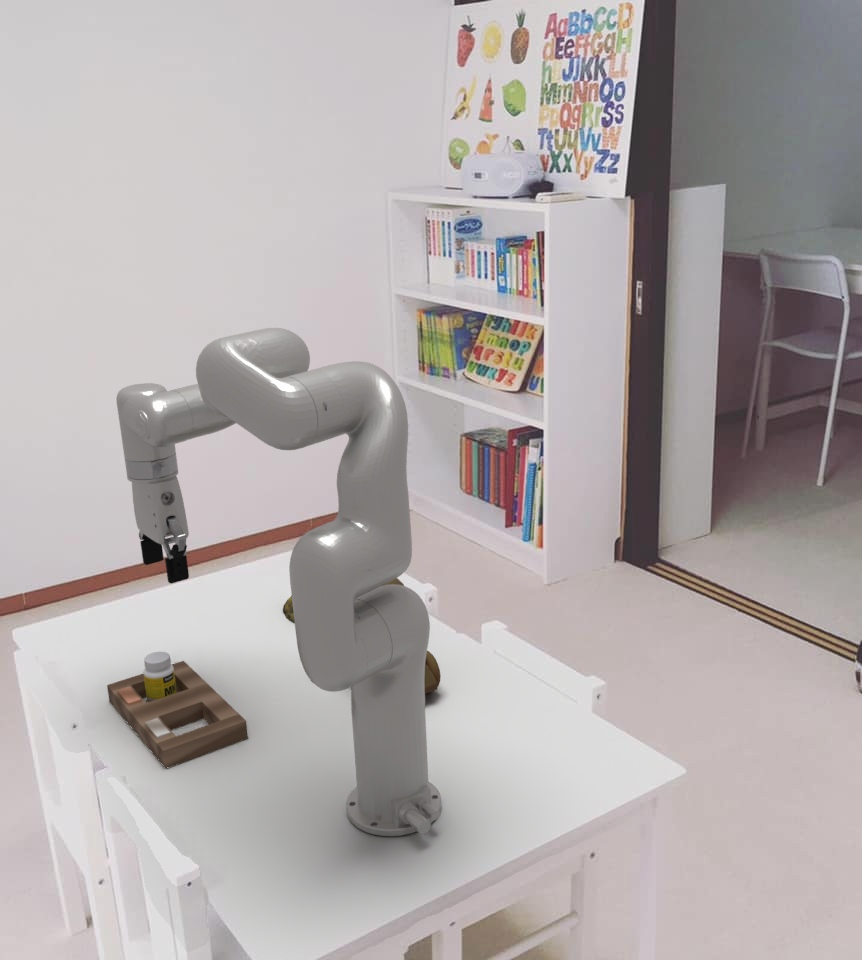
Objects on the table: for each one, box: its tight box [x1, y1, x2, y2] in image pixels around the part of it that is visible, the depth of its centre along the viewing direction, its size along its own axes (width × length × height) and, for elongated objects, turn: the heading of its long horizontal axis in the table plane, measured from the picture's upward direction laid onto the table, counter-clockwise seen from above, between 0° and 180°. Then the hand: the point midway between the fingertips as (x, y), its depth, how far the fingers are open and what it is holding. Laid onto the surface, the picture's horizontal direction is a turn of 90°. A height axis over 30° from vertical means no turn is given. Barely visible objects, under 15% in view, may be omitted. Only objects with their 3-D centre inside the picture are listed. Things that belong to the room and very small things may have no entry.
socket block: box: [106, 660, 249, 769], centre depth 168 cm, size 24×13×3 cm, turn 35°
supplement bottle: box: [142, 651, 178, 703], centre depth 171 cm, size 5×5×8 cm
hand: (165, 571), depth 168 cm, fingers open, 9 cm apart
